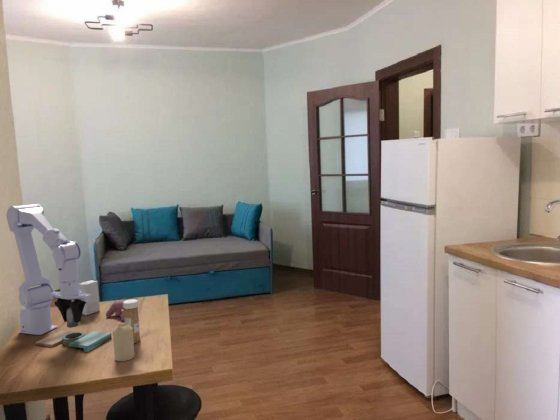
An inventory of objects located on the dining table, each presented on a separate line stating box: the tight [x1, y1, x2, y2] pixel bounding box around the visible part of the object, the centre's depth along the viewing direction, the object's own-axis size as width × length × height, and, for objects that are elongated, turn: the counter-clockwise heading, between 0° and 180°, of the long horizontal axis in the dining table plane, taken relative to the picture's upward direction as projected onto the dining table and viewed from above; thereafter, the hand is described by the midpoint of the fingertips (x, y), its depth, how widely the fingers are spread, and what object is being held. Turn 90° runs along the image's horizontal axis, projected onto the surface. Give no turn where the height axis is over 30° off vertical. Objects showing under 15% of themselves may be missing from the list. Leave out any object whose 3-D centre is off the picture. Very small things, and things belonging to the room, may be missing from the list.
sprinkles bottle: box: [123, 298, 141, 344], centre depth 147 cm, size 5×5×14 cm
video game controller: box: [105, 300, 125, 322], centre depth 172 cm, size 10×5×7 cm, turn 59°
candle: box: [112, 322, 135, 362], centre depth 136 cm, size 6×6×10 cm
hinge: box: [34, 329, 113, 353], centre depth 149 cm, size 21×11×2 cm, turn 72°
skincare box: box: [79, 279, 101, 316], centre depth 177 cm, size 6×4×12 cm
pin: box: [66, 307, 80, 328], centre depth 149 cm, size 4×4×6 cm
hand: (72, 321), depth 149 cm, fingers closed on pin, 4 cm apart
